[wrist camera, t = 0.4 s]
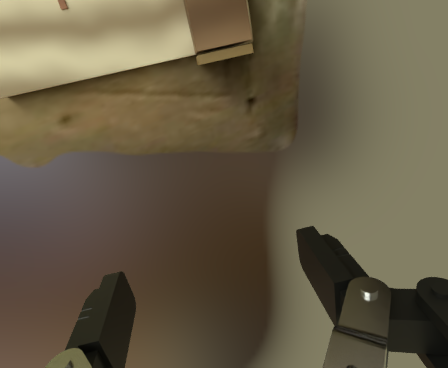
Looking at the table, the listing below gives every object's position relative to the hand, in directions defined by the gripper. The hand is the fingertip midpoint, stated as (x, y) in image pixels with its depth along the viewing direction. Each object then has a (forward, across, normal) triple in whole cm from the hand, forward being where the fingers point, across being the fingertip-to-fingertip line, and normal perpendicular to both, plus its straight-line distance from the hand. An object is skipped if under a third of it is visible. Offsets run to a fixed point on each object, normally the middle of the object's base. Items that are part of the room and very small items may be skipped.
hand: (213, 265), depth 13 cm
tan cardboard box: (+25, -5, -12) cm, 28 cm away
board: (+26, +6, -14) cm, 30 cm away
